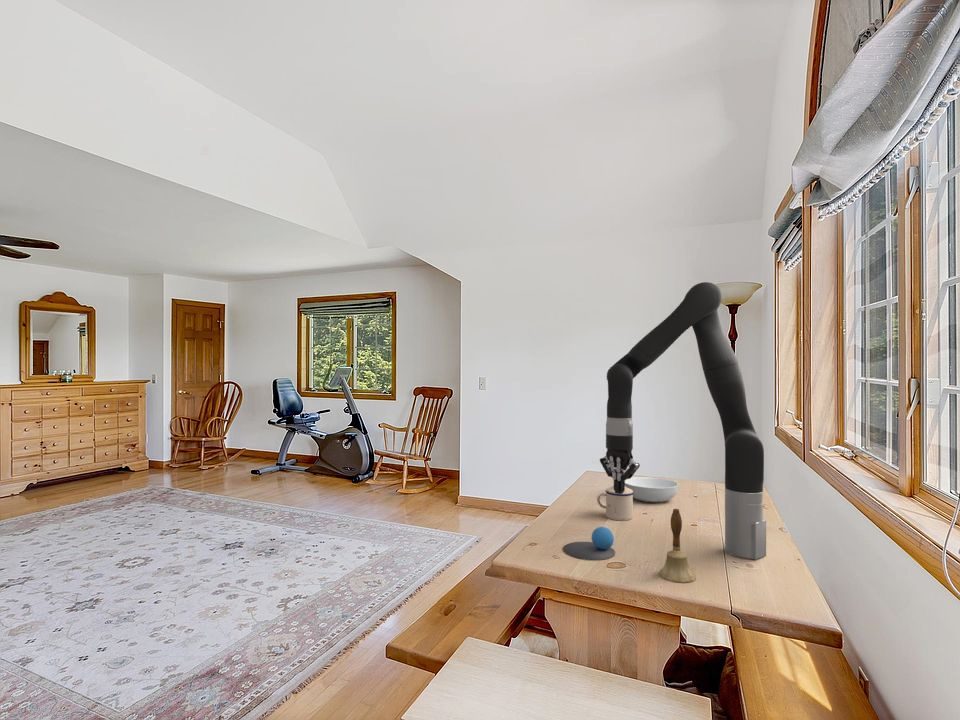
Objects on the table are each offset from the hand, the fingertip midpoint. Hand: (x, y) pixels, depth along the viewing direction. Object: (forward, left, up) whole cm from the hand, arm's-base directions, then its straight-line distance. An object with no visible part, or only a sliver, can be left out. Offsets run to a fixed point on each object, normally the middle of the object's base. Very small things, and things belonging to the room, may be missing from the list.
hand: (619, 493), depth 149 cm
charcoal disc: (0, +13, -14) cm, 19 cm away
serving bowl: (+24, -50, -14) cm, 57 cm away
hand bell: (-24, +9, -14) cm, 29 cm away
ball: (-1, +9, -11) cm, 14 cm away
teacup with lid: (+17, -20, -14) cm, 30 cm away
